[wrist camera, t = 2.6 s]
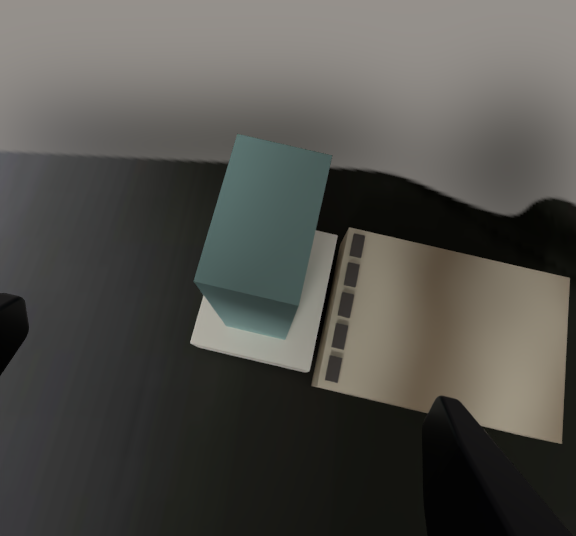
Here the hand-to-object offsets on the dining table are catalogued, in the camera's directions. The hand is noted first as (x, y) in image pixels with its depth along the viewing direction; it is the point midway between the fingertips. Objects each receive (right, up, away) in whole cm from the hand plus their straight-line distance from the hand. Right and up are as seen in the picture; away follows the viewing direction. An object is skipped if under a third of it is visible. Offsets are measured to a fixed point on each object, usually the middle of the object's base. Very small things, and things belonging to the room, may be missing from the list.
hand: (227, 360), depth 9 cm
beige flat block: (+8, -1, +11) cm, 14 cm away
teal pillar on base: (0, +1, +11) cm, 11 cm away
